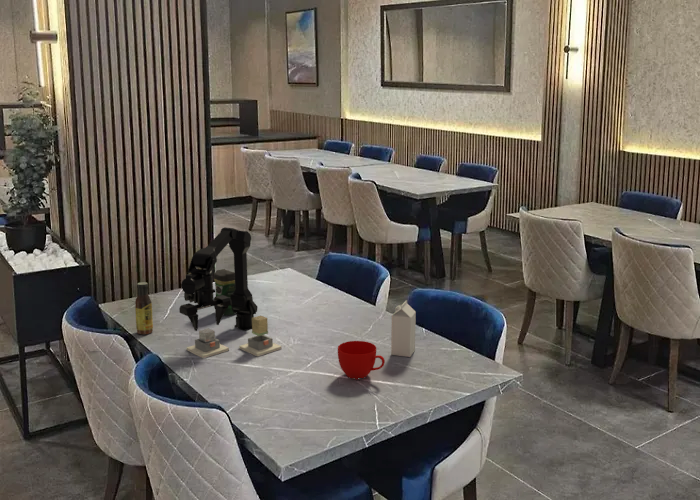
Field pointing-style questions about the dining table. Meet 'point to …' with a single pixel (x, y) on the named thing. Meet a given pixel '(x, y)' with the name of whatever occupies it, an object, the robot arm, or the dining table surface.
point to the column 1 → (207, 335)
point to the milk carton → (403, 331)
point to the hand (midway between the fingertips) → (206, 327)
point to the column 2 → (259, 325)
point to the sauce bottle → (143, 310)
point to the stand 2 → (260, 345)
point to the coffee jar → (225, 286)
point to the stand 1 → (207, 348)
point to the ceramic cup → (358, 358)
